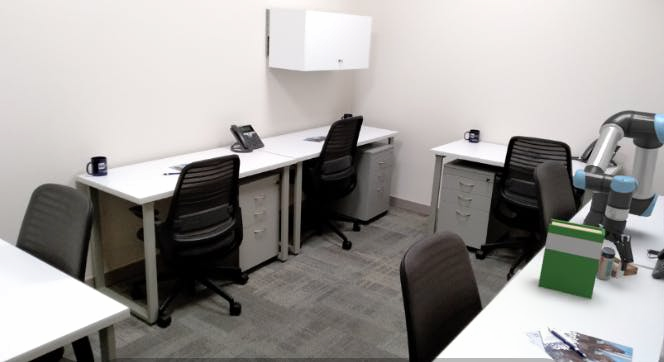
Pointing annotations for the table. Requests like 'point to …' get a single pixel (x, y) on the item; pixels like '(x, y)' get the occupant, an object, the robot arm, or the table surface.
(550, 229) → the hardback book
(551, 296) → the table surface
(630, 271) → the picture frame
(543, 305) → the table surface
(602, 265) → the beer can
